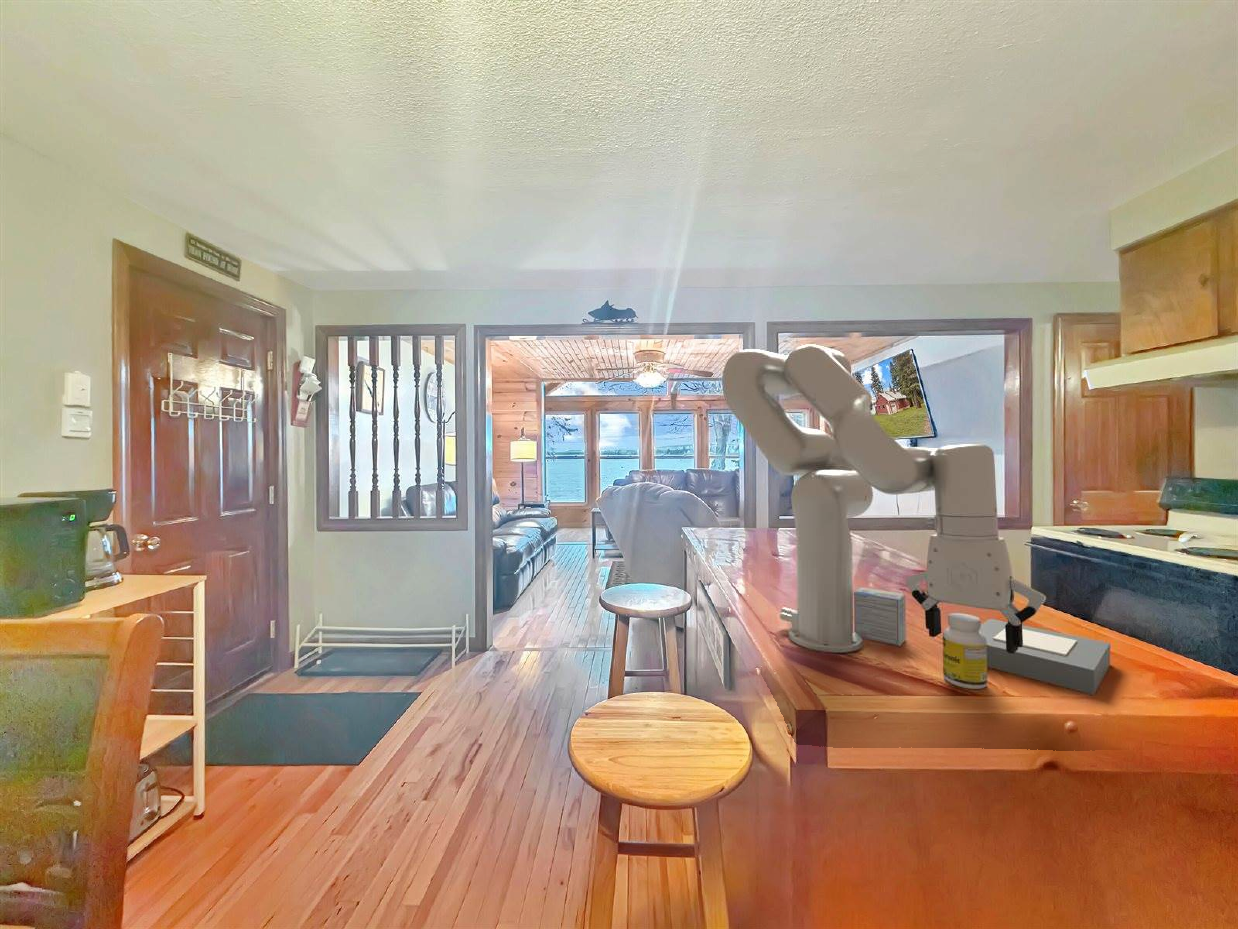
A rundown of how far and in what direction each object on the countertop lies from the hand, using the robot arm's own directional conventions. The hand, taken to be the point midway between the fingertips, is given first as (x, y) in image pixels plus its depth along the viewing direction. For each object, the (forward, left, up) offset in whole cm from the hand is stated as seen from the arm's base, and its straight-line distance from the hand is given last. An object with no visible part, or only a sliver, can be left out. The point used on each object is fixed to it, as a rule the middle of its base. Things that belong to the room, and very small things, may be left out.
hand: (972, 642), depth 73 cm
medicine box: (-17, +9, -6) cm, 20 cm away
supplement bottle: (-1, 0, -6) cm, 7 cm away
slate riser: (+4, +17, -6) cm, 19 cm away
